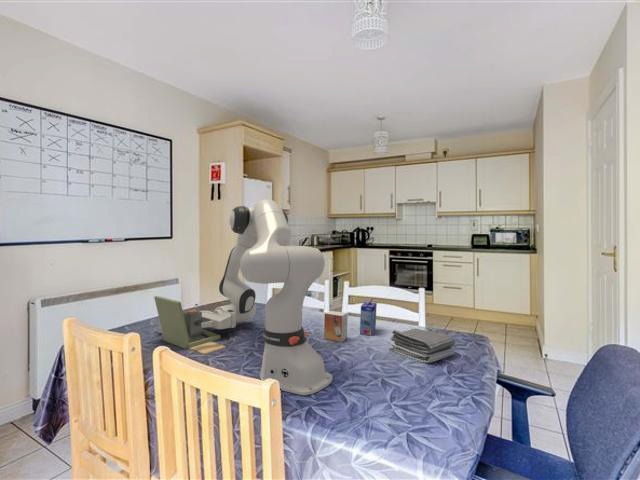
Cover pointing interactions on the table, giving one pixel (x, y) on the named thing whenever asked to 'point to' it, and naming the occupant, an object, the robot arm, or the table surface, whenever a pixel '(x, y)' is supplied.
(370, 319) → the juice box
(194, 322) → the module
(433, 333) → the towel
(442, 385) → the table surface
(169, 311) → the case
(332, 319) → the small box
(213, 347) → the pad
